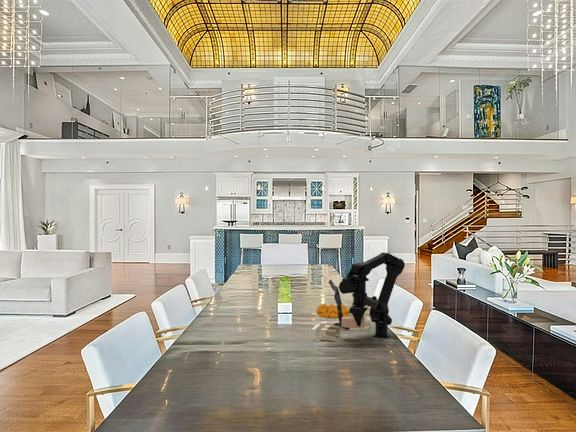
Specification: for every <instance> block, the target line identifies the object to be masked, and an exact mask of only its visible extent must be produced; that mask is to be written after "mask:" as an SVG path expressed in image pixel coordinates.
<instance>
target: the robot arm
mask: <svg viewBox="0 0 576 432" xmlns="http://www.w3.org/2000/svg"><path fill="white" fill-rule="evenodd" d="M405 264H406V263H405V261H404V260H403V259H402V258H399V257H397V256H395V255H392V254H391V253H389V252H380V253H379V254H377V255H376V256H374V257H372V258H370V259H368V260H366V261H362V262H361V261H360V262H356V263H353V264H352V265H351V267H350V270H349V272H348V274H347V276H346V277H345V278H341V281H340V283H339V285H338V290H339V293H341V294H343V295H344V294H345V295H346V294H352V295H351V296H352V298H353V299H352V305H351V306H350V307H349V308H348V310H349V314H350V315H352V317H354V319H355V321H356V323H357V326H360V325H361V319H362V318H364V316H365V313H366V312H367V310H368V309H369V313H368V314H369V316H370V320H371V323H375V324H374V325H375V328H374V329H375V332H374V335H373V337H375V338H386V339H388V338H389V335H390V333H388V331H389V330H388V326H390V325H392V323H393V319H392V318H391V316H390V314H389V311H390V309H389V306H388V305H389V302H390V299H391V295H392V293H393V291H394V287H395V284H396V281H397V278H398V277H399V276H400V275H401V274H402V273H403V271H404V269H405V266H406V265H405ZM381 265H385V271H386V275H385V278H384V281H383V285H382V287H381V289H380V293H379V296H378V297H377V296H376V295H372V297H371V296H368V293H367V292H366V291H367V288H366V287H367V283H366V282H369V281H370V279H369V278H368V277H367V276H368V275H369V274H370V273H371V272H372V270H375V269H376V268H377V267H379V266H381ZM368 307H370V308H368Z"/></svg>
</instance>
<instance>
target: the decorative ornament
mask: <svg viewBox="0 0 576 432" xmlns="http://www.w3.org/2000/svg"><path fill="white" fill-rule="evenodd" d="M341 308H342V313H343V316H345V317H349V316H350V313H349V308H348V307H347V306H346V305H345V304H342V305H341ZM316 315H318V317H322V318H326V319H332V320H335V319H339V318H338V309H337V305H335V304H333V303H331V304H329V305H327V303H322V304H319V305H318V306H317V308H316Z"/></svg>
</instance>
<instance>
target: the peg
mask: <svg viewBox="0 0 576 432" xmlns="http://www.w3.org/2000/svg"><path fill="white" fill-rule="evenodd" d="M365 319H366V318H365V317H363V318H362V319H361V325H360V326H357V323H356V321H355V319H354V317H353V316H348V317H345V316H343V317H342V327H347V328H350V329H362V330H364V329H365V326H366V325H365V323H366V322H365Z"/></svg>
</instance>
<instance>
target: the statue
mask: <svg viewBox="0 0 576 432" xmlns="http://www.w3.org/2000/svg"><path fill="white" fill-rule="evenodd" d="M328 284H329V285H330V287H331V289H332V291H333V292H334V295H333V297H334V300H335V303H336V306H337V309H338V318H337V319H338V322H336V323H334V324H333V326H340V331H347V332H348V331H349V330H350V329H351V328H347V327H342V317H343V313H342V308H341V305H343V303H342V300H341V295H340V290H339V286H336V284H335V283H334V282H333V280H332V279H329V280H328Z"/></svg>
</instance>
